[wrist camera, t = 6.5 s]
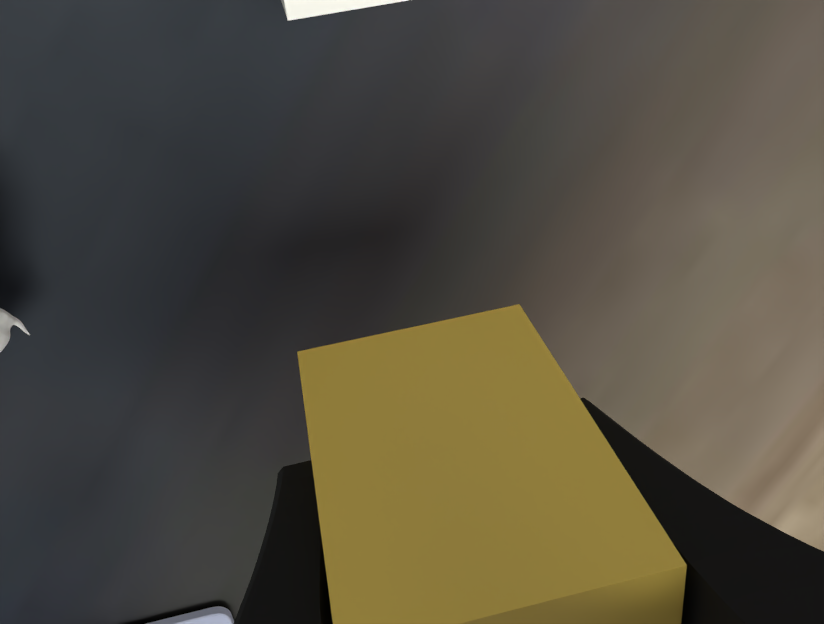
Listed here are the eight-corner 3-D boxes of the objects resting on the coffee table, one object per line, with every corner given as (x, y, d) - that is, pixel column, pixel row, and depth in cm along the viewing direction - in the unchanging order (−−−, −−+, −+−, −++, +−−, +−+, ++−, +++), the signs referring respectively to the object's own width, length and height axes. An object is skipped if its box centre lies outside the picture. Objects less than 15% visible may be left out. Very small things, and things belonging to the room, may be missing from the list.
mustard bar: (528, 469, 16) (668, 758, 11) (337, 515, 15) (388, 836, 10) (519, 304, 14) (686, 565, 9) (297, 351, 13) (337, 655, 8)
